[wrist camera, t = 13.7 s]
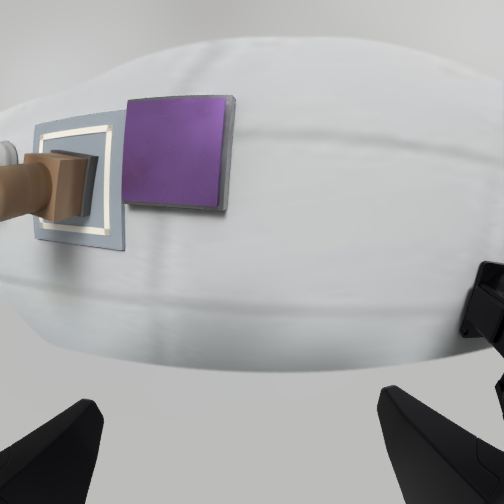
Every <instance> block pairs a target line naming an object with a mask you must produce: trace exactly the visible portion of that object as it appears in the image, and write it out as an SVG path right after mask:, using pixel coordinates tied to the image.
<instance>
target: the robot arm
mask: <svg viewBox="0 0 504 504" xmlns="http://www.w3.org/2000/svg"><path fill="white" fill-rule="evenodd" d="M486 266H487V268H486ZM485 268H486V269H485ZM465 331H466V332H465ZM460 335H461V336H462V337H463V338H475V337H484V338H485V339H486V340H487V341H488V342H489V343H491V344H492V345H493V347H494V348H495V349H496V350H497V351H498V352H499V353H500V354H501V355H502V357H503V358H504V264H503V263H497V262H491V261H484V262H483V263H482V264H481V267H480V270H479V274H478V278H477V281H476V285H475V288H474V291H473V294H472V298H471V301H470V304H469V307H468V310H467V313H466V315H465V318H464V321H463V324H462V326H461V329H460ZM495 389H496V392H497V396H498V399H499V402H500V405H501V409H502V413H503V419H504V373H503V375H502V377H501V379H500V380H498V382H497V384H496V386H495ZM377 412H378V416H379V420H380V424H381V428H382V432H383V436H384V440H385V445H386V449H387V452H388V455H389V458H390V461H391V463H392V466H393V469H394V471H395V474H396V477H397V480H398V483H399V485H400V488H401V491H402V494H403V497H404V500H405V503H406V504H504V452H503V451H501V450H499V449H497V448H495V447H493V446H492V445H490V444H488V443H486V442H485V441H483V440H481V439H479V438H477V437H476V436H475V435H473V434H471V433H469V432H468V431H466V430H465V429H463V428H462V427H460V426H458V425H457V424H455V423H454V422H452V421H450V420H449V419H447V418H445V417H444V416H442V415H441V414H439V413H438V412H436V411H434V410H433V409H431V408H430V407H428V406H427V405H425V404H424V403H422V402H420V401H419V400H417V399H416V398H414V397H413V396H411V395H409V394H408V393H406V392H405V391H403V390H402V389H400V388H399V387H397V386H395V385H391V386H387V387H384V388H382V390H381V393H380V397H379V401H378V405H377ZM103 424H104V418H103V415H102V414H101V412H100V410H99V409H98V407H97V405H96V403H95V402H94V401H93V400H89V399H81V400H80V401H78V402H77V403H75V404H74V405H72V406H71V407H69V408H68V409H66V410H65V411H64V412H62V413H60V414H59V415H57V416H56V417H54V418H53V419H51V420H50V421H48V422H47V423H45V424H43V425H42V426H40V427H39V428H37V429H36V430H34V431H33V432H31V433H30V434H28V435H27V436H25V437H23V438H22V439H21V440H19V441H17V442H15V443H14V444H12V445H11V446H9V447H8V448H6V449H4V450H3V451H1V452H0V504H85V501H86V497H87V493H88V489H89V486H90V482H91V478H92V475H93V471H94V468H95V464H96V460H97V456H98V451H99V445H100V440H101V434H102V429H103Z"/></svg>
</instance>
